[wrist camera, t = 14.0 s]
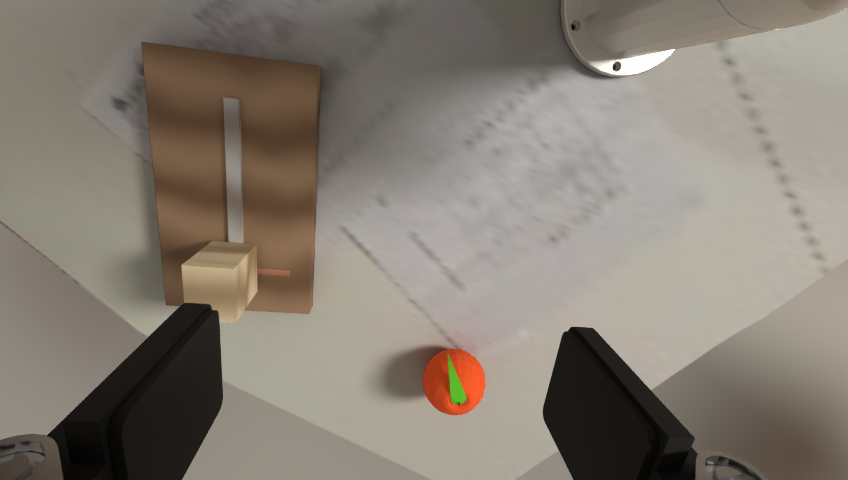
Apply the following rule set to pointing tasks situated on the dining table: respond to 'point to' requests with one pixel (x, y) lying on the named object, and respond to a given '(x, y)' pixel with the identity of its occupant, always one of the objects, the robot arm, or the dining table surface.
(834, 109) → the dining table surface
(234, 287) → the block
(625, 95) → the dining table surface
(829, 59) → the dining table surface
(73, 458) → the robot arm
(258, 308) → the board
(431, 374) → the clementine
